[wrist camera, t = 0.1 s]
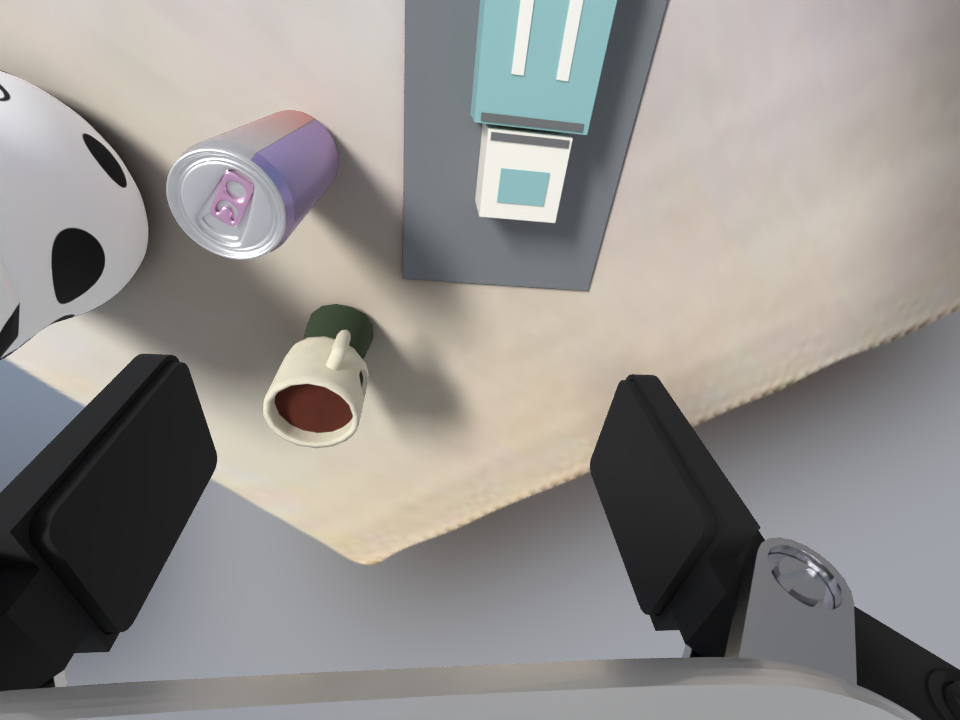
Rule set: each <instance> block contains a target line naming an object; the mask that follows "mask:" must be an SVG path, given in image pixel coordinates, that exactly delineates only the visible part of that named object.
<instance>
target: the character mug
mask: <svg viewBox="0 0 960 720" xmlns="http://www.w3.org/2000/svg"><path fill="white" fill-rule="evenodd" d="M372 339H373V331H372V325H371V323H370V322H369V320H368V319H367V317H366V316H365V314H363V313H361V312H359V311H357V310H356V309H354V308H352V307H348V306H343V305H338V304H333V305H326V306H322V307H320V308H319V309H317V310H316V311H314V312H313V313H312V314H311V317H310V319H309V322H308V324H307V327H306V331H305V334H304V339H303V340H302V341H300V342H298V343H296V344H295V345H294V346H293V347H292V348H291V350H290V351H289V352H288V354H287V355H286V356H285V358H284V360H283V362H282V364H281V366H280V368H279V370H278V372H277V374H276V376H275V378H274V380H273V382H272V384H271V386H270V388H269V390H268V392H267V394H266V396H265V398H264V403H263V415H264V417H265V419H266V421H267V423H268V425H269V427H270V428H271V429H272V430H273V431H274V432H275V433H276V434H278V435H279V436H280V437H281V438H283V439H285V440H287V441H289V442H291V443H294V444H296V445H299V446H306V447H313V448H320V447H330V446H334V445H337V444H339V443H342V442H344V441H346V440H347V439H349V438H350V437H351V436H352V435H353V434H354V433H355V432H356V430H357V427H358V425H359V421H360V417H361V412H362V407H363V402H364V397H365V393H366V388H367V384H368V378H369V372H368V369H367V365H366V363H365V361H364V360H363V359H364V357H365V355H366V353H367V351H368V349H369V346H370V344H371V341H372Z"/></svg>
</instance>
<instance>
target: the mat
mask: <svg viewBox="0 0 960 720" xmlns="http://www.w3.org/2000/svg"><path fill="white" fill-rule="evenodd" d="M666 3H667V0H617V3H616V7H615V12H614V16H613V21H612V25H611V30H610V34H609V39H608V43H607V48H606V52H605V57H604V61H603V66H602V70H601V75H600V79H599V84H598V88H597V93H596V97H595V102H594V106H593V110H592V115H591V119H590V124H589V128H588V133H587V135H582V134H574V133H565V132H564V133H565V134H567V135H568V136H570V137H571V138H573V140H572V144H571V149H570V154H569V159H568V164H567V169H566V173H565V178H564V183H563V188H562V193H561V198H560V202H559V207H558V212H557V217H556V222H555V223H549V222H537V221H525V220H514V219H502V218H490V217H479V214H478V210H477V206H476V202H475V196H476V186H477V176H478V166H479V156H480V146H481V136H482V126H483V123H476V122H474V120H473V118H472V117H471V115H470V113H471V102H472V90H473V78H474V66H475V54H476V42H477V31H478V19H479V7H480V0H405V85H404V200H403V279H417V280H432V281H447V282H462V283H478V284H493V285H508V286H523V287H539V288H554V289H569V290H585V291H588V288H589V284H590V281H591V277H592V273H593V270H594V266H595V263H596V259H597V255H598V252H599V248H600V244H601V241H602V237H603V233H604V230H605V226H606V222H607V219H608V215H609V211H610V208H611V204H612V200H613V197H614V193H615V190H616V186H617V182H618V179H619V175H620V171H621V168H622V164H623V160H624V157H625V153H626V149H627V146H628V142H629V138H630V135H631V131H632V128H633V124H634V120H635V117H636V113H637V109H638V106H639V102H640V98H641V95H642V91H643V87H644V84H645V80H646V76H647V73H648V69H649V65H650V62H651V58H652V55H653V51H654V47H655V44H656V40H657V36H658V33H659V29H660V25H661V22H662V18H663V14H664V11H665V7H666Z"/></svg>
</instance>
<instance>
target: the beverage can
mask: <svg viewBox="0 0 960 720" xmlns="http://www.w3.org/2000/svg"><path fill="white" fill-rule="evenodd" d="M338 165H339V157H338V151H337V147H336V145H335V142H334V140H333V138H332V136H331V135H330V133H329V132H328V130H327V129H326V128H325V127H324V126H323V125H322V124H321V123H320V122H319V121H318V120H316V119H315V118H313V117H312V116H310V115H308V114H305V113H303V112H299V111H294V110H285V111H280V112H277V113H274V114H272V115H269V116H267V117H264V118H262V119H259V120H256V121H254V122H251V123H249V124H246V125H243V126H241V127H238V128H236V129H233V130H231V131H228V132H225V133H223V134H220V135H218V136H215V137H212V138H210V139H207V140H205V141H202V142H200V143H197V144H195V145H193V146H191V147H190V148H188V149H187V150H186V151H185V152H184V153H183V154H182V155H181V156H180V158H179V159H178V160H177V161H176V162H175V163H174V164H173V166H172V167H171V169H170V171H169V174H168V177H167V182H166V195H167V200H168V204H169V207H170V210H171V212H172V214H173V216H174V218H175V220H176V221H177V223H178V224H179V226H180V227H181V228H182V230H183V231H184V232H185V233H186V234H187V235H188V236H189V237H190V238H191V239H192V240H193V241H195V242H196V243H197V244H198V245H200V246H201V247H203V248H204V249H206V250H208V251H210V252H212V253H214V254H216V255H219V256H222V257H225V258H229V259H235V260H249V259H255V258H259V257H261V256H264V255H266V254H267V253H269V252H272V251H274V250H275V249H277V248H278V247H280V246H281V245H282V244H283V243H284V242H285V241H286V240H287V238H288V237H289V236H290V235H291V233H292V232H293V231H294V230H295V228H296V227H297V226H298V225H299V223H300V222H301V221H302V220H303V218H304V217H305V216H306V215H307V213H308V212H309V211H310V209H311V208H312V207H313V206H314V204H315V203H316V202H317V201H318V199H319V198H320V197H321V196H322V194H323V193H324V192H325V191H326V189H327V188H328V187H329V186H330V184H331V183H332V182H333V180H334V179H335V177H336V174H337V171H338Z"/></svg>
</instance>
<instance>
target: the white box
mask: <svg viewBox="0 0 960 720" xmlns="http://www.w3.org/2000/svg"><path fill="white" fill-rule="evenodd" d="M572 140H573V138H571V137H570V136H568V135H567V134H565V133H564V132H556V131H547V130H538V129H529V128H520V127H512V126H503V125H494V124H485V123H483V126H482V136H481V146H480V156H479V166H478V176H477V186H476V196H475V202H476V206H477V210H478V214H479V217H490V218H502V219H514V220H525V221H537V222H549V223H555V222H556V217H557V212H558V207H559V202H560V198H561V193H562V188H563V183H564V178H565V173H566V169H567V164H568V159H569V154H570V149H571V144H572Z"/></svg>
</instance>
